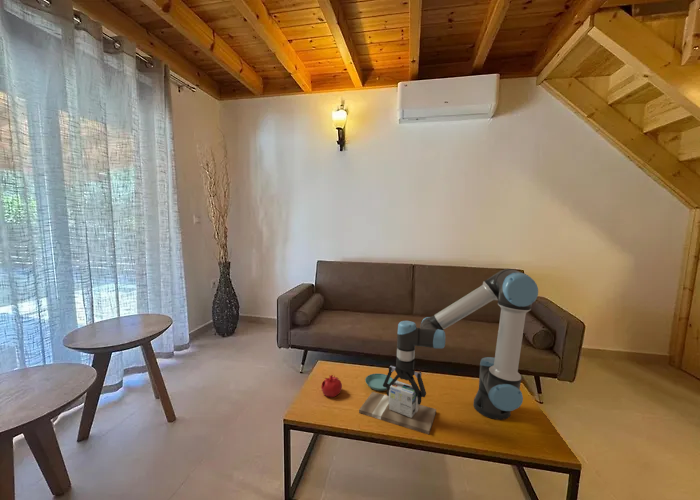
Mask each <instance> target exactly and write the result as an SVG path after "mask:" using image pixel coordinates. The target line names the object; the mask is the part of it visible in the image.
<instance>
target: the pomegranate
mask: <svg viewBox="0 0 700 500" xmlns="http://www.w3.org/2000/svg"><path fill="white" fill-rule="evenodd" d="M328 376H329V377H328V378H327V377H325V378H324V379H323V380H322V382H321V391H322V393H323V395H324V396H326V397H329V398H335V397H336V396H339V394H340V393H341V391H342V387H343V383H342V381H341V380H340V378H338V377H336V375H334V376H333V375H332V374H331V375H328Z"/></svg>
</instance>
